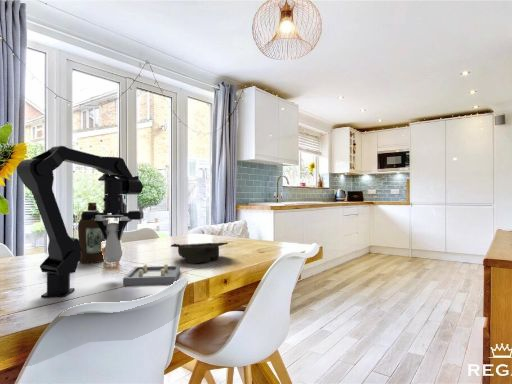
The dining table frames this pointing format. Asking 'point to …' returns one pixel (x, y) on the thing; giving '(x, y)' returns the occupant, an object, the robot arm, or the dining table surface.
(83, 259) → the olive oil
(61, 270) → the robot arm
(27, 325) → the dining table surface
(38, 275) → the dining table surface
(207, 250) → the stone bowl
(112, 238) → the salt shaker
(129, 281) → the pin tray
